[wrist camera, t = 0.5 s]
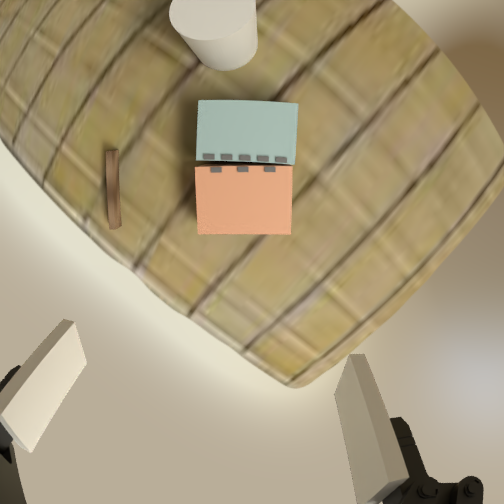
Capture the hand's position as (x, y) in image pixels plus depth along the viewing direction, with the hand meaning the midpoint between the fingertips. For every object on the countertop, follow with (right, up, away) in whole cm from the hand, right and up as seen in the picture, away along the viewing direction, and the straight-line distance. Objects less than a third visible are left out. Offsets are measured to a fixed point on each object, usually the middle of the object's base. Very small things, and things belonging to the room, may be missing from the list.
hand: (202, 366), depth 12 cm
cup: (-1, +32, +18) cm, 37 cm away
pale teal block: (+2, +20, +22) cm, 30 cm away
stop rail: (-17, +14, +25) cm, 34 cm away
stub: (+1, +13, +25) cm, 29 cm away
